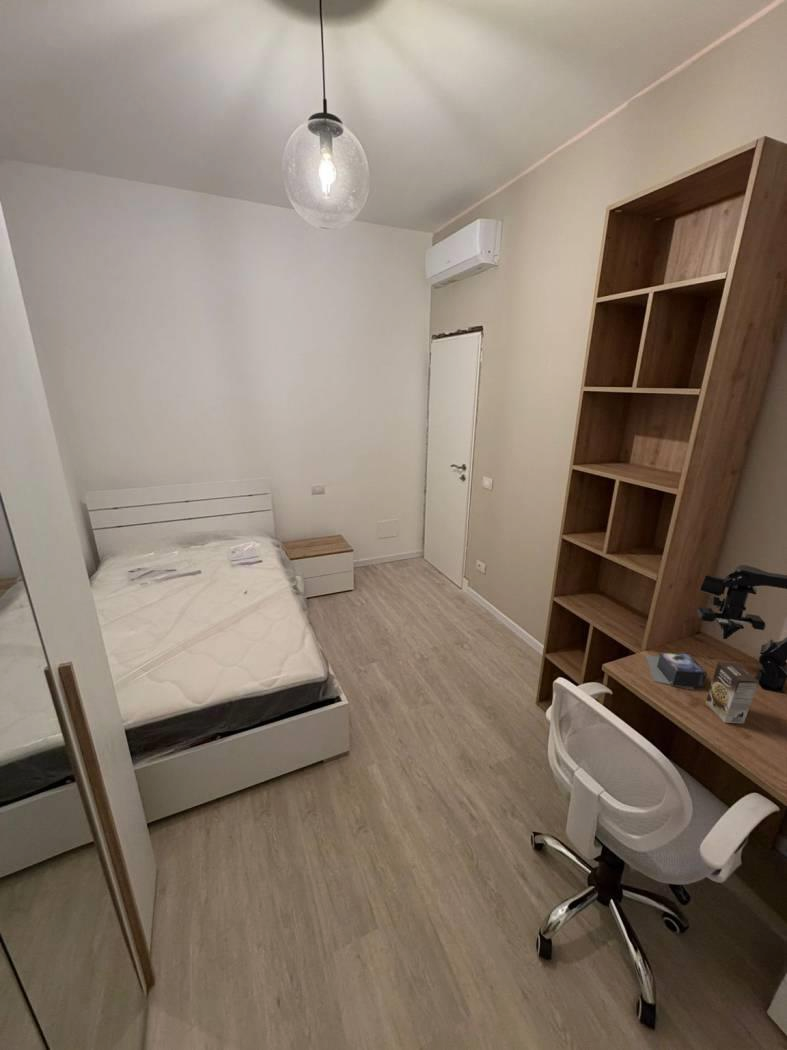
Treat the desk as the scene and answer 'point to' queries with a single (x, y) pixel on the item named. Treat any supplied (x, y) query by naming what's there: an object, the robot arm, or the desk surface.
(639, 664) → the desk surface
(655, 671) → the mat
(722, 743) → the desk surface
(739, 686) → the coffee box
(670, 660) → the small box
